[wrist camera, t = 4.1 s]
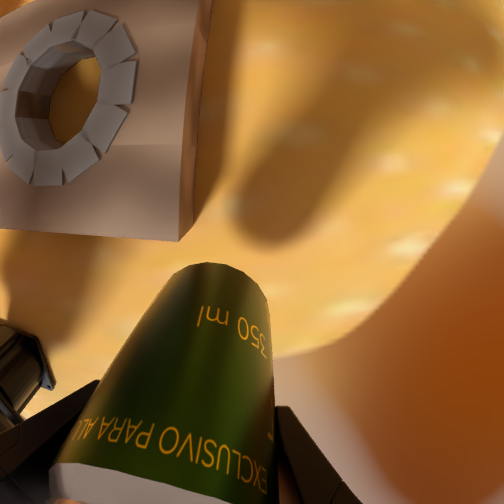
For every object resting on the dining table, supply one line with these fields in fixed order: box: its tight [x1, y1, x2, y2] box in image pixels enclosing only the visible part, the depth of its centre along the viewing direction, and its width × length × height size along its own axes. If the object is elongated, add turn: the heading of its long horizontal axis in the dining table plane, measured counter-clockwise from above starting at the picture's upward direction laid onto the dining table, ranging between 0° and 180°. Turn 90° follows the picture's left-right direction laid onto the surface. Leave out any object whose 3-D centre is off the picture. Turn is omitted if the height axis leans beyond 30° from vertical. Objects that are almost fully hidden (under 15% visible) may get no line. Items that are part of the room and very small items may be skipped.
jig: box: [0, 0, 213, 242], centre depth 14 cm, size 16×16×4 cm
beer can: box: [44, 262, 280, 504], centre depth 9 cm, size 5×5×12 cm
